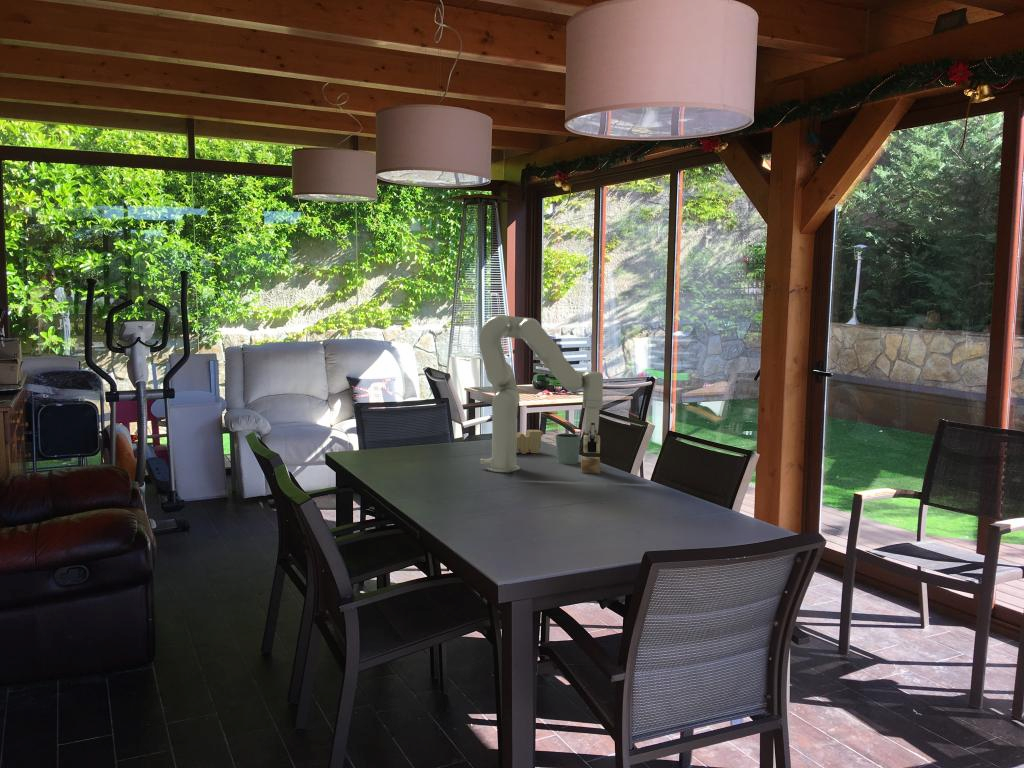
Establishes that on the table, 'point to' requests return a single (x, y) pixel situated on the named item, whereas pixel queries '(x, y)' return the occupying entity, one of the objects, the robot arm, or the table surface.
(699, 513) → the table surface
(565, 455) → the green cup
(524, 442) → the toy train
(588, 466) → the walnut base block
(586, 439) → the birch cube
